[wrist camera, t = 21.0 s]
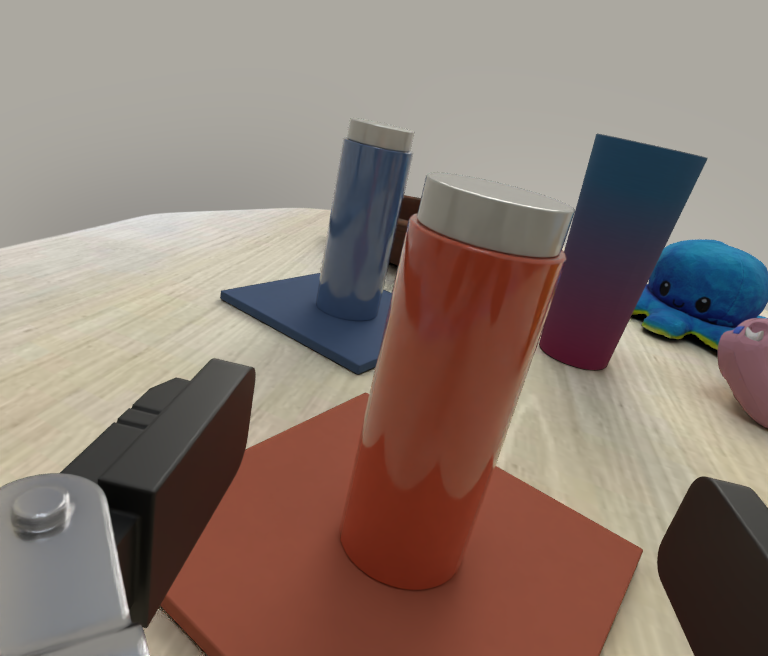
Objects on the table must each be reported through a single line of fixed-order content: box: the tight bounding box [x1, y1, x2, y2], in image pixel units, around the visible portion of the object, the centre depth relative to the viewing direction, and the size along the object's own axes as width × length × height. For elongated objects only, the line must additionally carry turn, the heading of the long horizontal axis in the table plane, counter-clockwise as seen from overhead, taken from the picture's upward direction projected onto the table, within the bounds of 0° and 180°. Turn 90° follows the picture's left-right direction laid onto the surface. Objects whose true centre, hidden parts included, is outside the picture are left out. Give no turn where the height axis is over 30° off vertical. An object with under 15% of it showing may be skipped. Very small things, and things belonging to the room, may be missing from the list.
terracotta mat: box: [160, 393, 643, 656], centre depth 20 cm, size 14×14×1 cm
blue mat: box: [220, 273, 392, 374], centre depth 39 cm, size 12×12×1 cm
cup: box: [539, 134, 707, 370], centre depth 38 cm, size 7×7×15 cm
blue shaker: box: [316, 118, 414, 321], centre depth 36 cm, size 4×4×12 cm
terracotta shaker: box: [340, 173, 575, 590], centre depth 17 cm, size 4×4×12 cm
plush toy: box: [632, 240, 768, 350], centre depth 54 cm, size 17×17×8 cm
